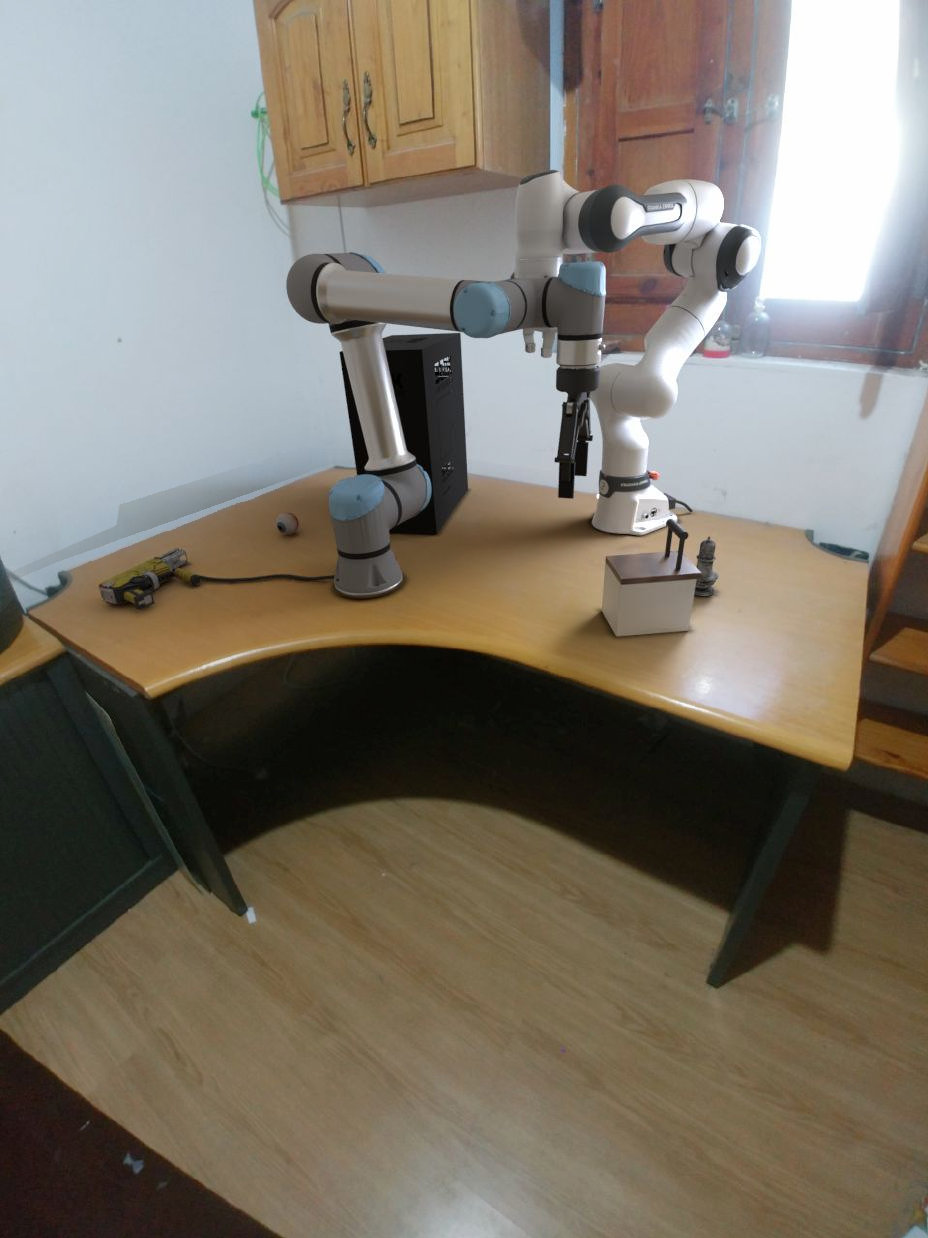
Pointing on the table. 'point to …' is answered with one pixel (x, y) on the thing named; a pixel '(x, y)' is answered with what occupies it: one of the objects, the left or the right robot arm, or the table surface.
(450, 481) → the cardboard box
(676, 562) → the lid
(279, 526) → the eyeball
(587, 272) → the left robot arm
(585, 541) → the table surface
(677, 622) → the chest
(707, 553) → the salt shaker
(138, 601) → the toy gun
